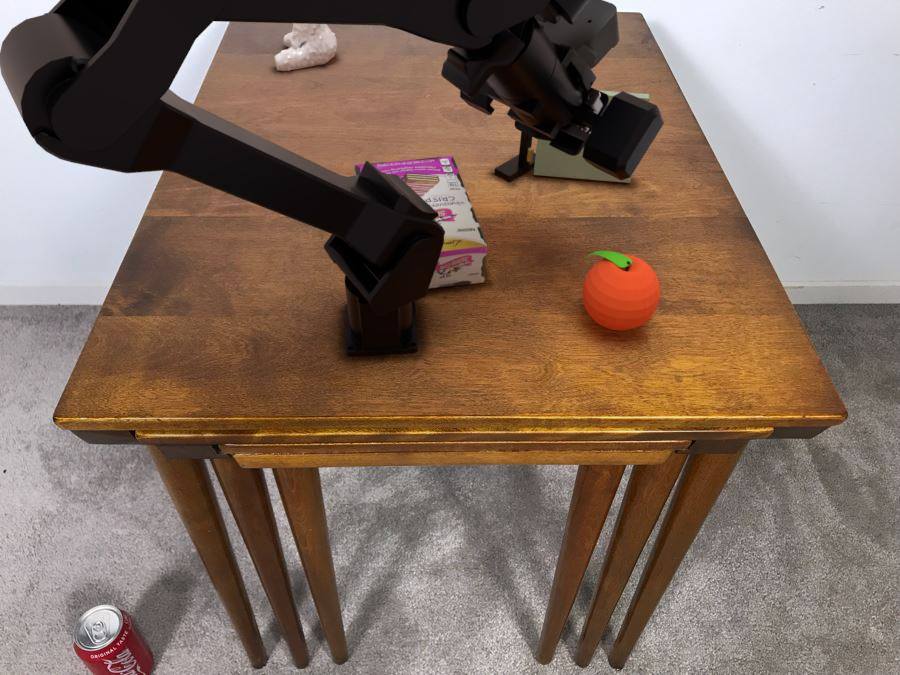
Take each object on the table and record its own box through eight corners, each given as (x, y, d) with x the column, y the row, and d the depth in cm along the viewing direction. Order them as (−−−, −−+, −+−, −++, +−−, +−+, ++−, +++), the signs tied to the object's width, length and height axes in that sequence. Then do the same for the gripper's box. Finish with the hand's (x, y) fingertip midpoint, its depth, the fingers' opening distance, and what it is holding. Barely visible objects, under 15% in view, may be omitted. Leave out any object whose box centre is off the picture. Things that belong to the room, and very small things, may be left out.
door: (629, 183, 83) (649, 98, 75) (533, 174, 84) (543, 90, 76) (629, 176, 84) (648, 92, 76) (534, 168, 85) (544, 84, 77)
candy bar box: (453, 151, 78) (490, 244, 67) (451, 190, 82) (487, 284, 71) (351, 161, 76) (372, 258, 65) (354, 200, 80) (374, 298, 69)
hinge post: (513, 184, 83) (523, 86, 74) (494, 174, 84) (501, 76, 76) (546, 165, 86) (559, 68, 77) (527, 155, 87) (537, 59, 79)
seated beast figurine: (287, 43, 108) (274, -42, 99) (343, 45, 108) (336, -40, 99) (273, 72, 101) (259, -17, 93) (334, 74, 101) (325, -15, 93)
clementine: (553, 313, 68) (563, 254, 63) (597, 280, 71) (610, 222, 66) (622, 358, 64) (638, 299, 59) (665, 320, 67) (684, 262, 62)
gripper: (682, 7, 51) (716, 101, 64) (488, -58, 60) (554, 37, 73) (596, 145, 52) (647, 209, 66) (420, 62, 61) (497, 133, 75)
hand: (584, 141), depth 70 cm, fingers closed
